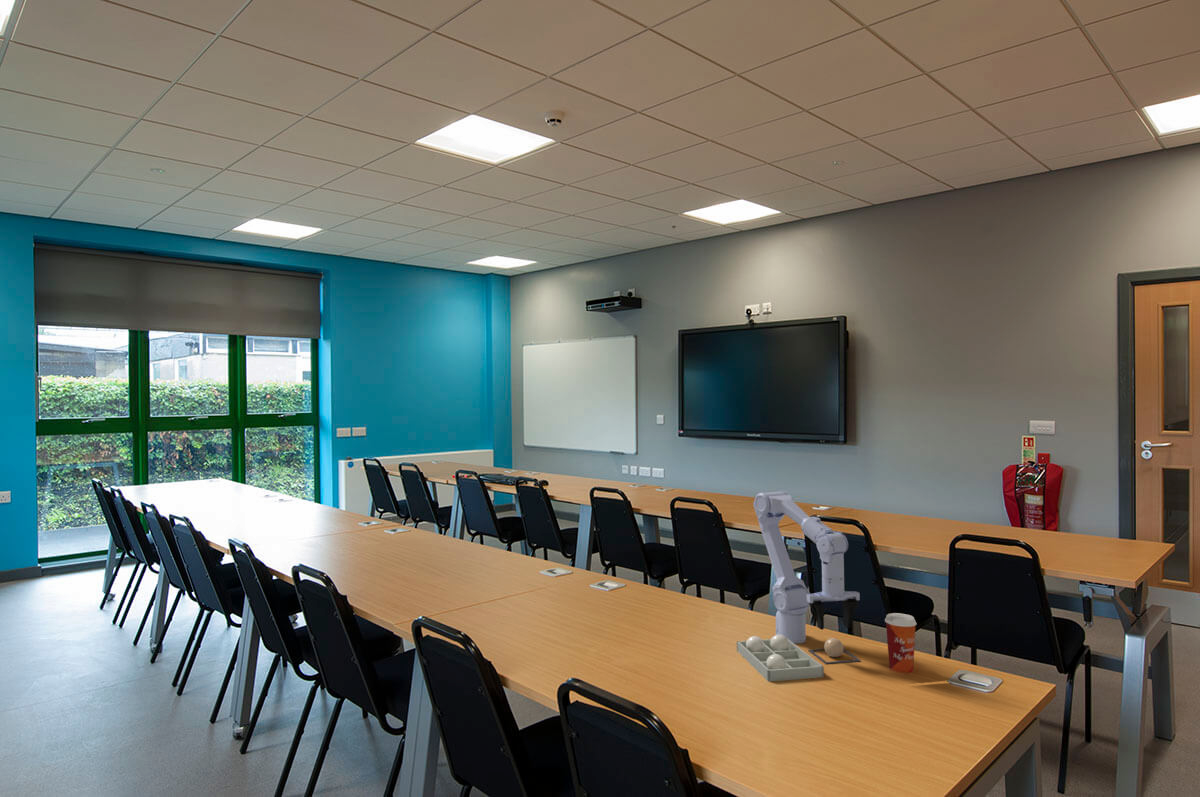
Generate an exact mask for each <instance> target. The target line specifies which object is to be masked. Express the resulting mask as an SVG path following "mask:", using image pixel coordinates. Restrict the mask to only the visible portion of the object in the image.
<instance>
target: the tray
mask: <svg viewBox="0 0 1200 797" xmlns="http://www.w3.org/2000/svg"><path fill="white" fill-rule="evenodd" d="M762 640H763V642H764V650H763V652H756V653H751V652H750V651H749V650H748V649H747V648H746V641H747V640H741V641H740V640H739V641H736V652H737V653H738V654H740V656H742V658H743V659H745V660H746V661H747V662H748V663H749V665H750V666H752V667H753V668H754V670H756V671H757V672H758V673H759V674H760V675H761V676H762V677H763V679H764V680H766V681H767V682H777V681H778V682H779V681H790V680H791V681H792V680H805V679H817V678H824V677H825V676H824V675H825V673H824V672H825V671H824V670H825V669H824V668H825V667H824V665H822V664H821V663H820V662H818V661H817V660H816V659H815V658H814V657H812V656H811V655H809V654H808V653H807V652H805V651H804V650H803V649H801V648H800V647H799V646H798V645H796V643H793V642H791V641H790V640H789V639H787V640H788V642H789V647H788V650H784V651H773V650H772V648H771V645H770V641H771V638H769V639H766V638H765V639H762ZM772 654H778V655H781V656H782V657H783V658H784V659H785V661H786V668H785V669H772V670H769V669H768V668H767V666H766V661H767V659H768V657H769V656H770V655H772Z"/></svg>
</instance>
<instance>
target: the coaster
mask: <svg viewBox="0 0 1200 797" xmlns="http://www.w3.org/2000/svg"><path fill="white" fill-rule="evenodd" d="M808 652H809V653H810V654H812V655H813V656H814V657H815V658H817V659H819V661H821V662H822V663H823V664H824V665H833V664H846V663H848V664H849V663H858V662H859V663H861V662H862V659H859V658H858V657H856V656H855V655H854V654H852V653H851V652H849V651H848V650H846V649H845V648H844V650H843V653H845V654H847V655H848V656H849V657H851V658H853V659H848V660H835V661H827V660H825V659H823V657H821V656H819V655H818V654H817V653H815V652H826V651H825V649H824V648H818V649H817V648H816V649H815V648H814V649H808Z"/></svg>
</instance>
